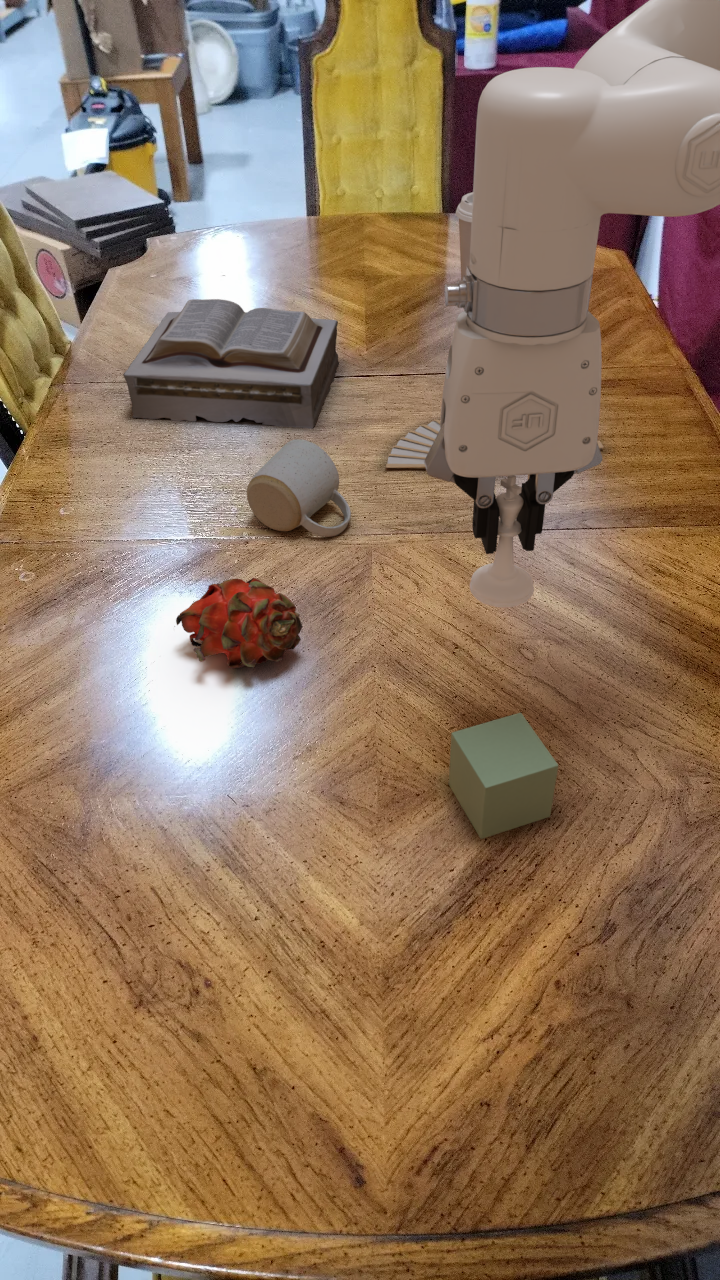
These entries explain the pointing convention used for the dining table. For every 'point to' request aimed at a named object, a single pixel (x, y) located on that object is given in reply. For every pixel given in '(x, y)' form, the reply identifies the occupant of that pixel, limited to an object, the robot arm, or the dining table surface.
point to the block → (502, 774)
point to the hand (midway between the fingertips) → (505, 540)
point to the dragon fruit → (242, 623)
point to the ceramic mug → (297, 489)
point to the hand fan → (418, 447)
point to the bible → (235, 366)
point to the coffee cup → (465, 230)
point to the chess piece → (504, 558)
